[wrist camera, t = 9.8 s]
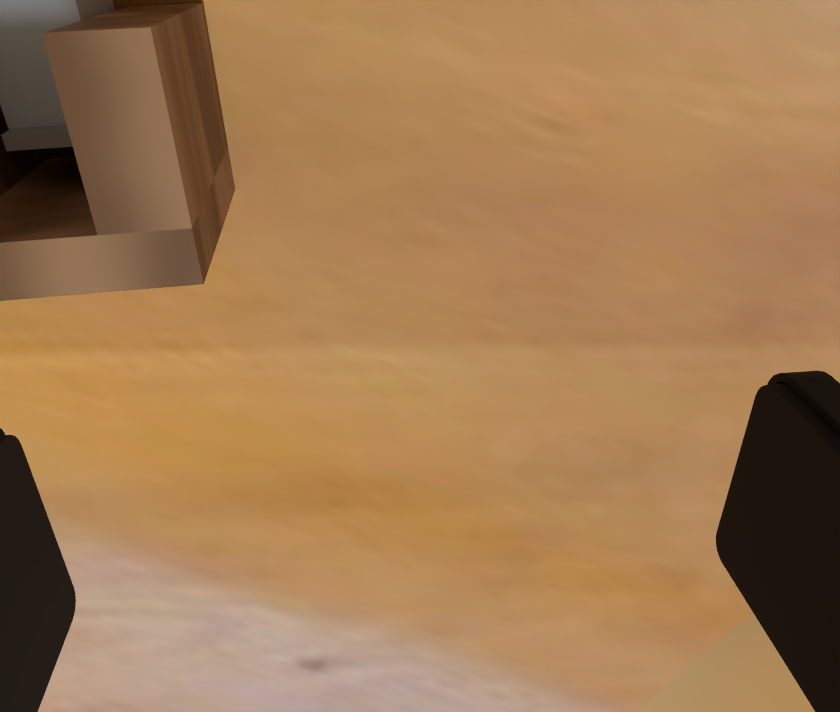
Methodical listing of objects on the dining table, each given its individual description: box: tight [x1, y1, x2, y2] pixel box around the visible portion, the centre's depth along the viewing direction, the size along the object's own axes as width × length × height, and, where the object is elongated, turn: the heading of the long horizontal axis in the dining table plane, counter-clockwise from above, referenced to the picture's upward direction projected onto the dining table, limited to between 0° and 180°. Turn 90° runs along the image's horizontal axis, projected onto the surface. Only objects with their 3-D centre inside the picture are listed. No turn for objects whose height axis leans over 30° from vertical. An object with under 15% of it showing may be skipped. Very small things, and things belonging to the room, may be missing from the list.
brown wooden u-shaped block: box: [0, 2, 235, 301], centre depth 26 cm, size 11×8×11 cm
